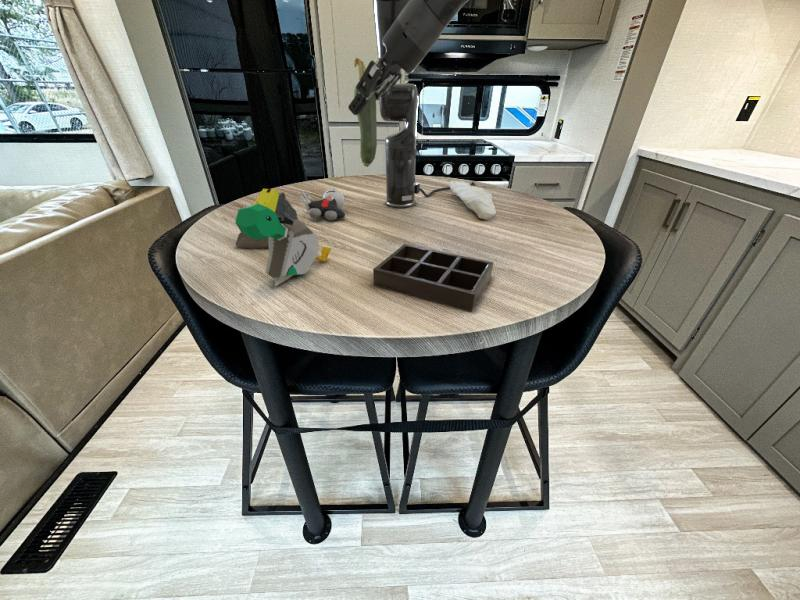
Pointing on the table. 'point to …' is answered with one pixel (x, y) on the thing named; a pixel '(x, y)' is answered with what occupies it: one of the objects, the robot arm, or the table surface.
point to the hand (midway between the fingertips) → (357, 110)
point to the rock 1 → (281, 211)
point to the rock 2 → (474, 199)
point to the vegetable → (367, 123)
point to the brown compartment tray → (434, 275)
